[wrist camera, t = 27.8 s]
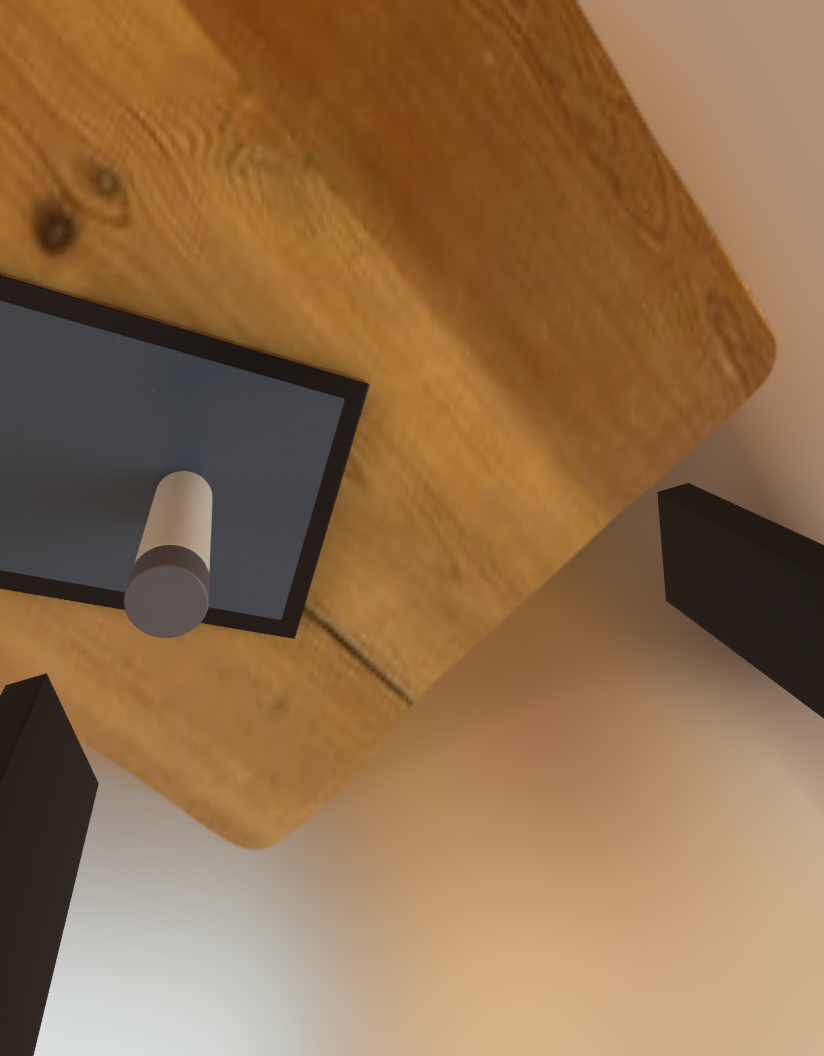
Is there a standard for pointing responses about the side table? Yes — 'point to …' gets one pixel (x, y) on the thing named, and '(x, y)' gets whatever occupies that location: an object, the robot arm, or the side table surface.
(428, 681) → the side table surface
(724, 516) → the robot arm
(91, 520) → the tablet
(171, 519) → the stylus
